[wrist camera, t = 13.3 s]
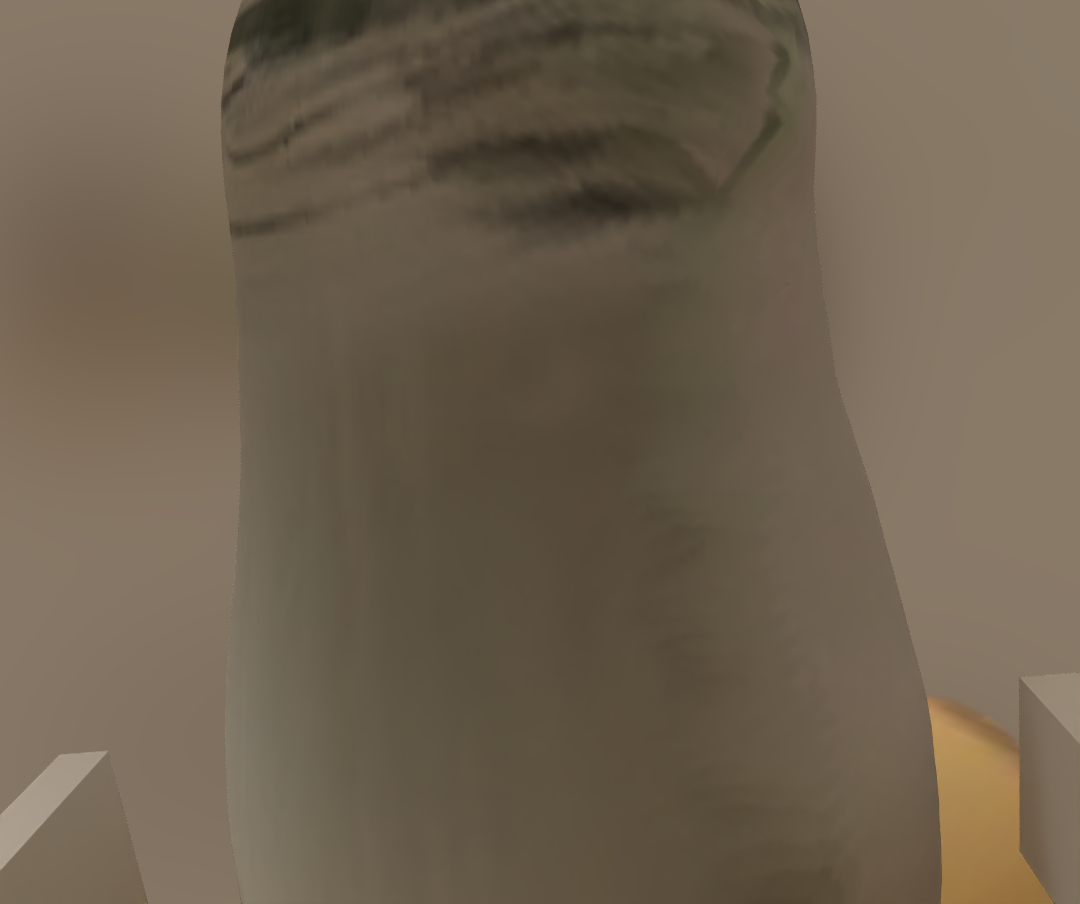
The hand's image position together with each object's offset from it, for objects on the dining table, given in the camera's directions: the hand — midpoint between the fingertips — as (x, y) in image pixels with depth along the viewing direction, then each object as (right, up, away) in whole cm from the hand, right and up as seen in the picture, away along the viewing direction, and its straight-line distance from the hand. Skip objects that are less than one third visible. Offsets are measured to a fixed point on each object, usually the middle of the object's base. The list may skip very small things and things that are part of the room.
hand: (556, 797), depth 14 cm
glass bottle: (+2, -15, +5) cm, 16 cm away
